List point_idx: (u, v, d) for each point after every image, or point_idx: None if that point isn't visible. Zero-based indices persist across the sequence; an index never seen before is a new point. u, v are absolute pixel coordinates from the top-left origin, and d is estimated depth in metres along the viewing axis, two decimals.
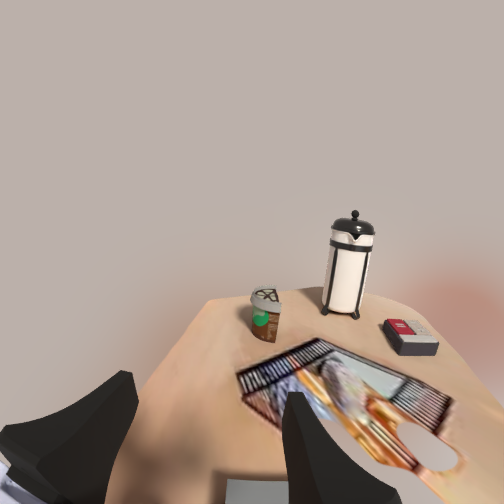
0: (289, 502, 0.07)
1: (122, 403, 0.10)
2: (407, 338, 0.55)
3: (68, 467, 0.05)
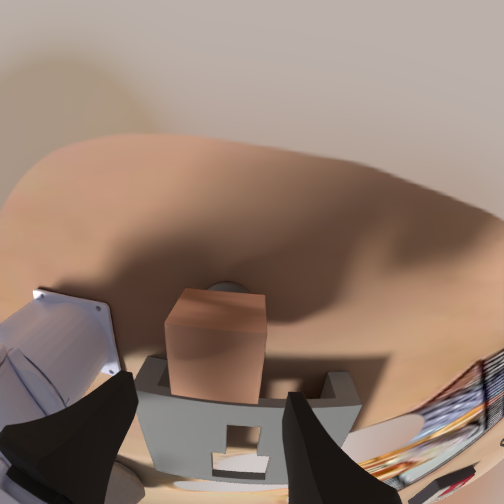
0: (289, 502, 0.07)
1: (122, 403, 0.10)
2: (440, 492, 0.29)
3: (68, 467, 0.05)
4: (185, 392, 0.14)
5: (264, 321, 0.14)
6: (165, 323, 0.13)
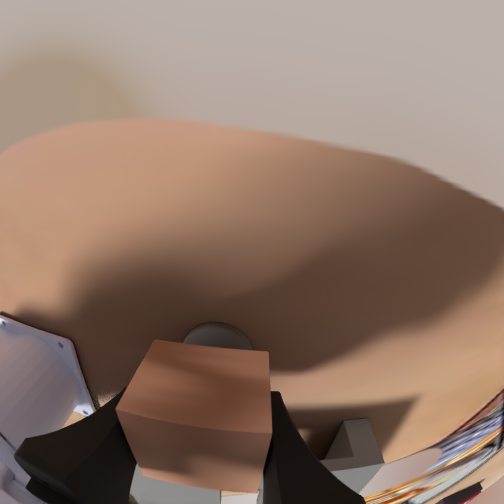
0: (263, 502, 0.07)
1: None
2: None
3: (95, 479, 0.05)
4: (160, 477, 0.08)
5: (268, 407, 0.08)
6: (117, 410, 0.07)
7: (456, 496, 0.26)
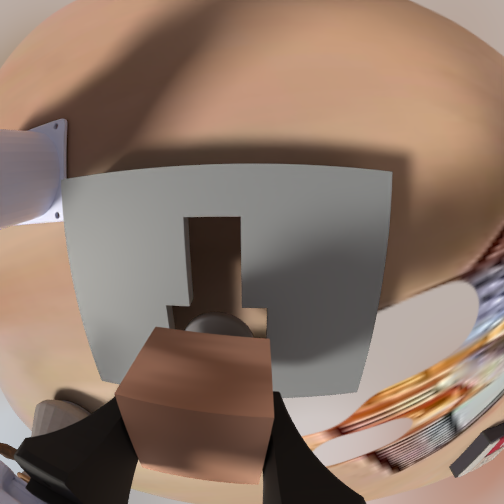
0: (263, 502, 0.07)
1: None
2: (490, 447, 0.23)
3: (95, 479, 0.05)
4: (159, 468, 0.08)
5: (269, 392, 0.08)
6: (116, 394, 0.07)
7: (497, 429, 0.25)
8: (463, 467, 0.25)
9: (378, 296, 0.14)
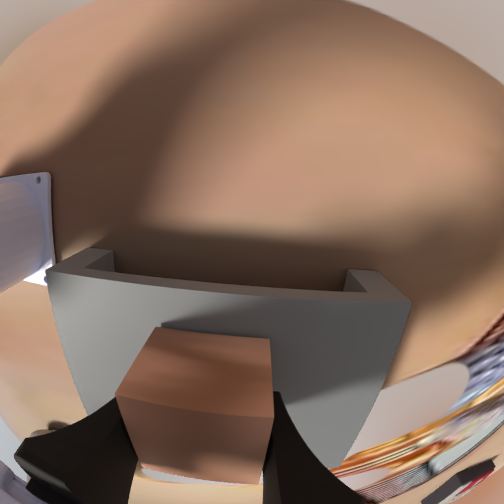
0: (263, 502, 0.07)
1: None
2: (461, 488, 0.23)
3: (95, 479, 0.05)
4: (159, 468, 0.08)
5: (269, 392, 0.08)
6: (116, 394, 0.07)
7: (470, 471, 0.25)
8: (434, 503, 0.25)
9: (371, 406, 0.13)
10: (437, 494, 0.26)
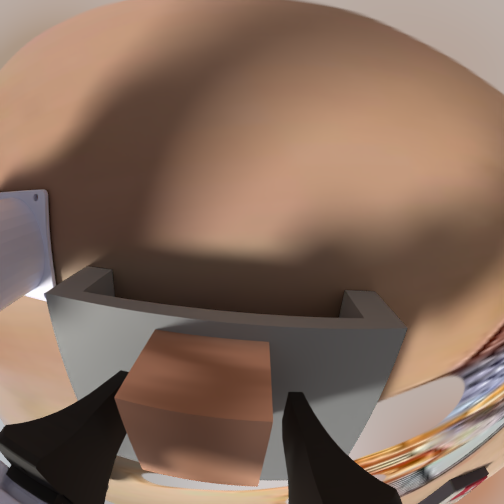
0: (289, 502, 0.07)
1: None
2: (454, 495, 0.23)
3: (68, 467, 0.05)
4: (159, 470, 0.08)
5: (268, 396, 0.08)
6: (116, 398, 0.07)
7: (464, 478, 0.25)
8: None
9: (365, 422, 0.13)
10: (430, 499, 0.26)
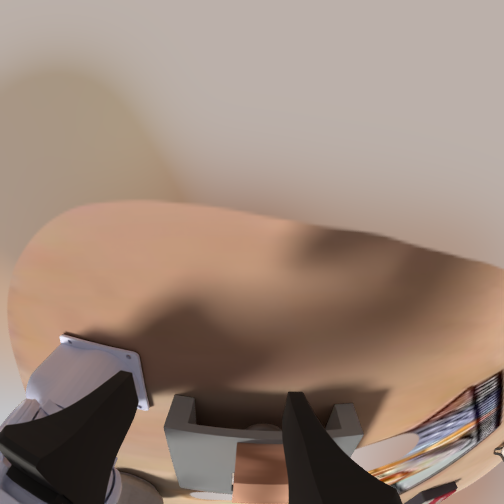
0: (289, 502, 0.07)
1: (122, 403, 0.10)
2: None
3: (68, 467, 0.05)
4: (241, 502, 0.17)
5: None
6: (234, 483, 0.16)
7: (434, 491, 0.34)
8: None
9: None
10: None
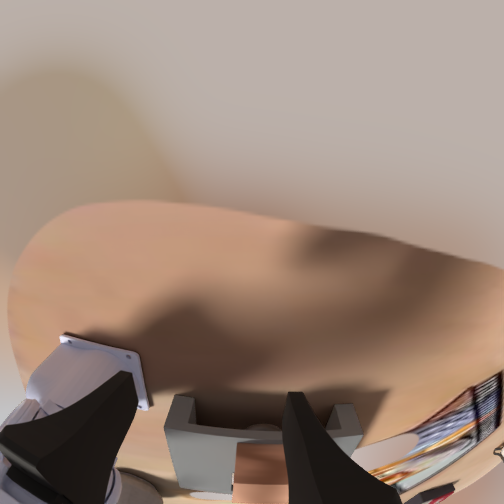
0: (289, 502, 0.07)
1: (122, 403, 0.10)
2: None
3: (68, 467, 0.05)
4: (241, 502, 0.17)
5: None
6: (234, 483, 0.16)
7: (432, 492, 0.34)
8: None
9: None
10: None
